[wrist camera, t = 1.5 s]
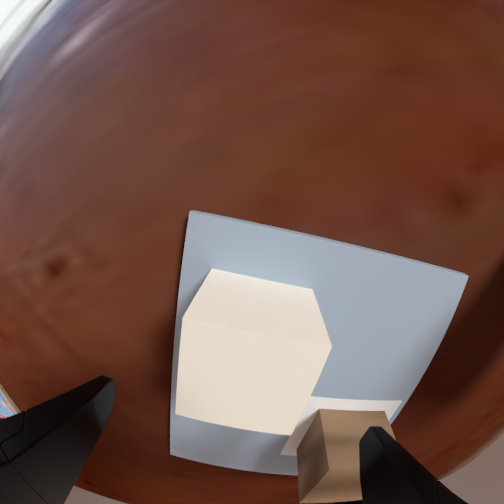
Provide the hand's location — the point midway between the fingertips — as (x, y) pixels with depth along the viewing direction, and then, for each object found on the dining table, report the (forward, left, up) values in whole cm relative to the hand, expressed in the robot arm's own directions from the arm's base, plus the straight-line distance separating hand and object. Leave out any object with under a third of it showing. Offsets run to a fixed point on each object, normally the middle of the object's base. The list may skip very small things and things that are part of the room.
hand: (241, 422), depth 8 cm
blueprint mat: (-5, -4, -7) cm, 10 cm away
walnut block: (-8, -8, -7) cm, 13 cm away
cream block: (0, 0, -7) cm, 7 cm away
